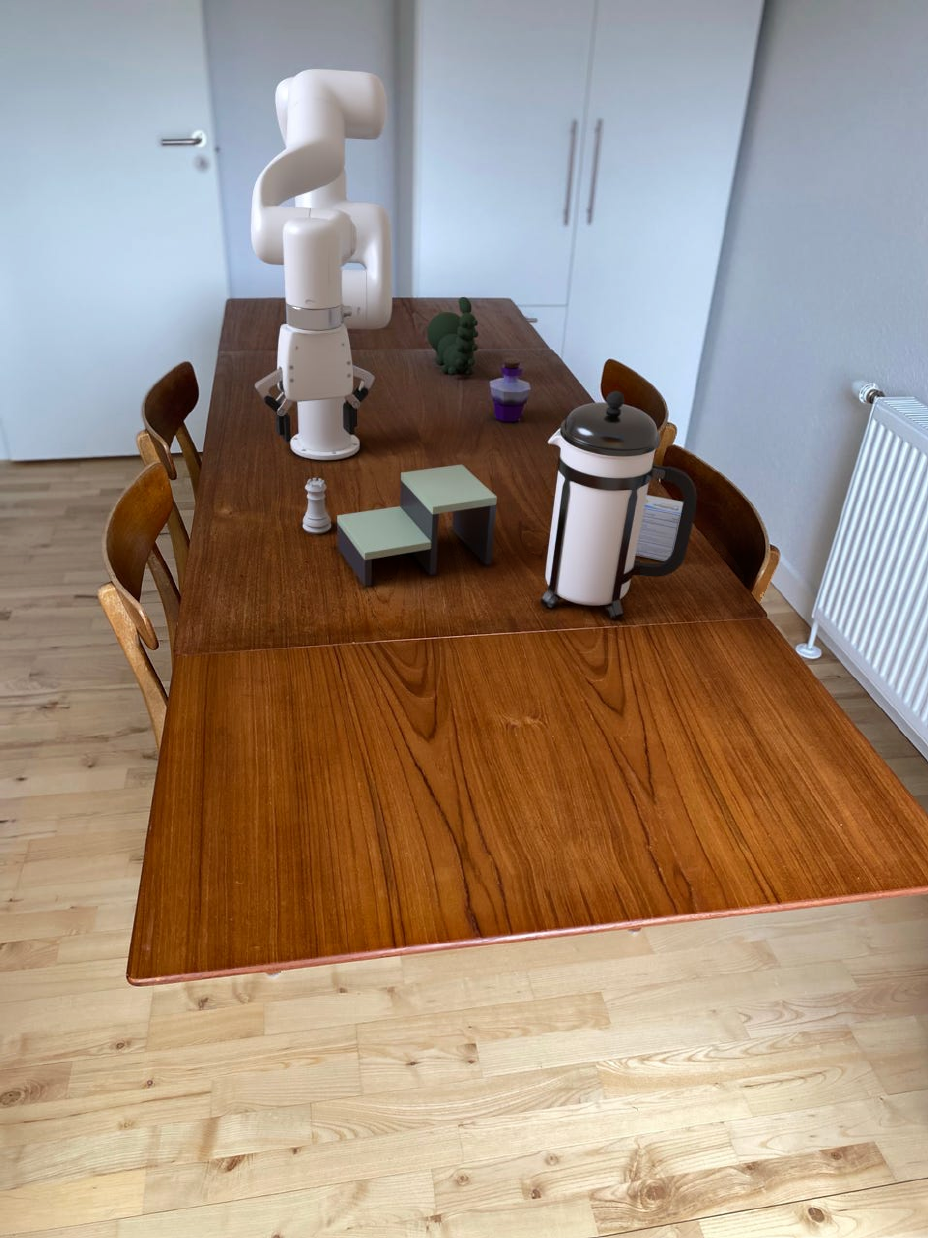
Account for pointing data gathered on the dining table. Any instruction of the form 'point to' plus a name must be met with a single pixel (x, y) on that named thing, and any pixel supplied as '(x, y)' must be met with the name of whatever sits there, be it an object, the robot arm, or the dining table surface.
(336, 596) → the dining table surface
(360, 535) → the rack
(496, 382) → the potion bottle
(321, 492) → the rook chess piece
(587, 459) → the coffee press
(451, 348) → the toy figurine
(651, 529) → the medicine box
